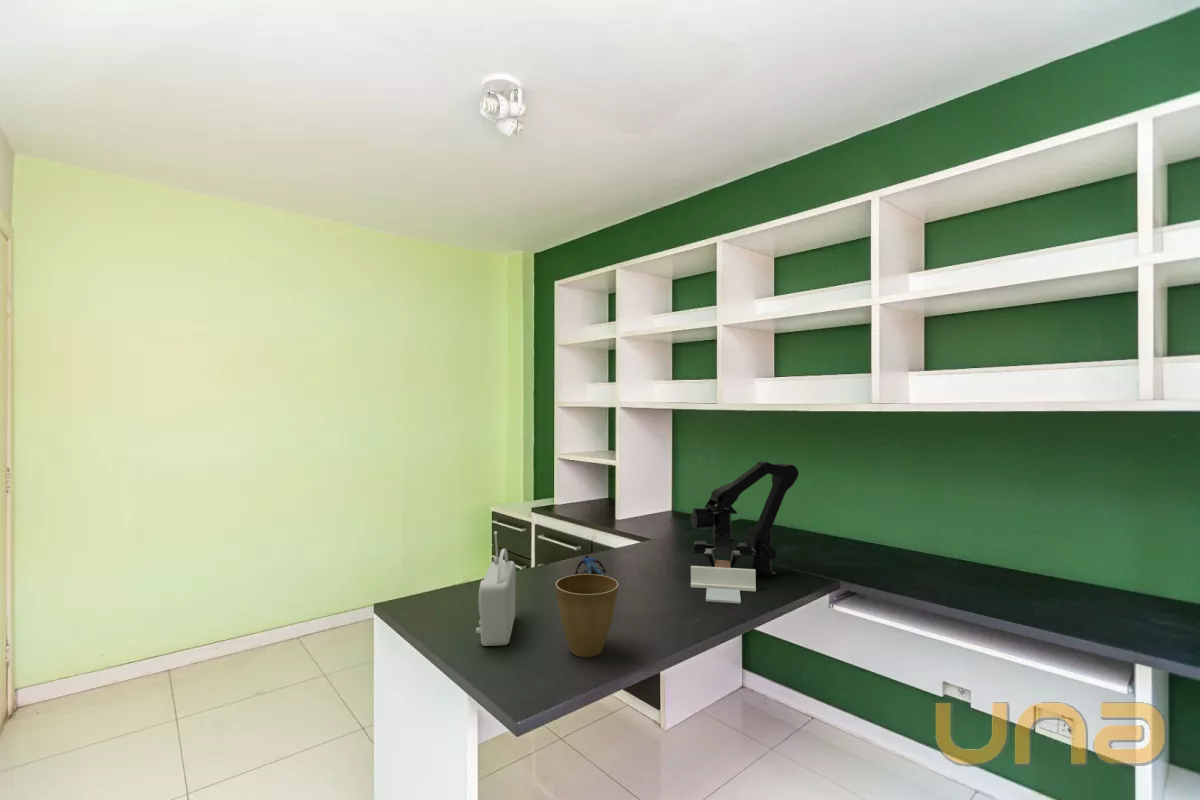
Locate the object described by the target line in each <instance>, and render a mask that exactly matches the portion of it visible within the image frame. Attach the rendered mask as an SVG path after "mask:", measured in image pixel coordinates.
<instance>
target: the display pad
mask: <svg viewBox="0 0 1200 800" xmlns="http://www.w3.org/2000/svg"><path fill="white" fill-rule="evenodd" d="M705 592H706V594H705V602H713V603H729V604H730V603H731V604H742V599H741V590H731V589H716V588H706V590H705Z"/></svg>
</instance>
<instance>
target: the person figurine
mask: <svg viewBox="0 0 1200 800" xmlns="http://www.w3.org/2000/svg"><path fill="white" fill-rule="evenodd" d="M584 556H585V557H584V558H582V559H581V561H579V563H578V565H577V567H576V570H575V573H574V575H578V574H579V572H578V571H579V568H580V567H581V565H582V564H584V566H585V567H586V570H587V571H586V572H587V573H588V574H593V573H592V570H593V571H594V572H595V573H597V574H598V575H603V576H605V575H604V574H603V572H604V573H607V570H606V569H605V567H604V565H603V564H602V562H601V561H599V560H598V559H596V558H594V557H589V555H584ZM596 563H597V564H599V566H600V567H601V568H602V571H601V570H600V569H599V568H598V565H597V564H596Z"/></svg>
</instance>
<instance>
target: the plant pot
mask: <svg viewBox="0 0 1200 800" xmlns="http://www.w3.org/2000/svg"><path fill="white" fill-rule="evenodd" d="M603 575H604V574H603ZM603 575H600V574H593V573H592V574H589V573H578V574H577V575H575V574H573V575H567V576H564V577H561V578H559V579H558V580H557V581H556V582H555V590H556V597H557V605H558V610H559V617H560V621H561V625H562V629H563V632H564V635H565V638H566V639H565V640H566V641H567V644H568V647H569V650H570V652H571V653H572V654H573V655H574V656H577V657H580V658H592V657H596V656H599V655H600V654H601V653H602V651H603V648H604V646H605V643H606V641H607V637H608V635H609V631H610V628H611V625H612V620H613V617H614V613H615V608H616V607H615V606H616V603H617V598H618V597H617V595H618V589H619V582H618V581H617V580H616V579H614V578H612V577H610V576H608V575H604V576H603Z"/></svg>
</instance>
